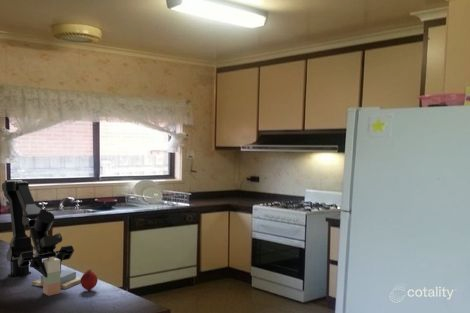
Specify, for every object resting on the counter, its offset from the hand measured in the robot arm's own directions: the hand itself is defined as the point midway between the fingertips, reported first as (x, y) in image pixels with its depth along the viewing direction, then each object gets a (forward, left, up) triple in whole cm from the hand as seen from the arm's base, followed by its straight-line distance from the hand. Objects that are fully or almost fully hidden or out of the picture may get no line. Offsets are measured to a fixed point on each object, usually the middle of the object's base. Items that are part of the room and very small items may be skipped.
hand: (53, 275), depth 166 cm
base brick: (-7, +12, -5) cm, 15 cm away
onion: (+10, +7, -7) cm, 14 cm away
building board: (-7, +12, -7) cm, 15 cm away
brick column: (-1, +1, -7) cm, 7 cm away
